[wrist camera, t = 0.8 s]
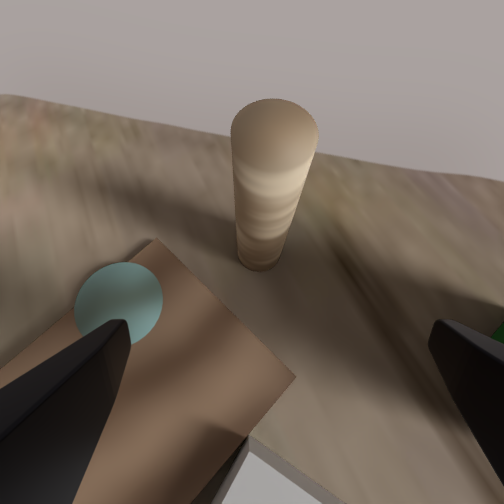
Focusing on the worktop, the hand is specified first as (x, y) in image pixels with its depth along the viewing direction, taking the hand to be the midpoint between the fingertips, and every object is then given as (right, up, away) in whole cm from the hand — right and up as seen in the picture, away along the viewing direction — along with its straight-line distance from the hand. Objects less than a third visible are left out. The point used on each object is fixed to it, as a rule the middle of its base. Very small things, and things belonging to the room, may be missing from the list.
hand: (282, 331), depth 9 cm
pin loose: (0, +2, +15) cm, 15 cm away
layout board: (-10, -8, +11) cm, 17 cm away
